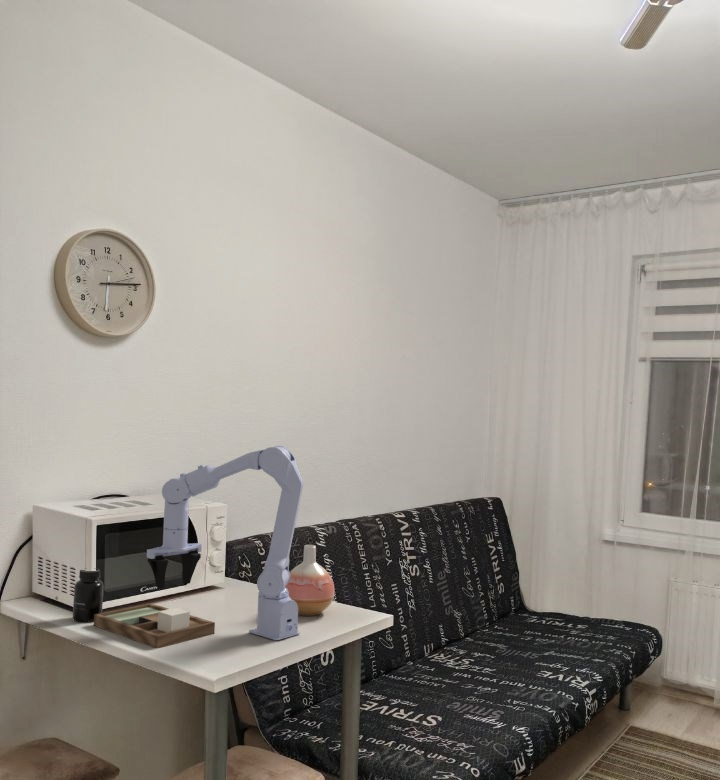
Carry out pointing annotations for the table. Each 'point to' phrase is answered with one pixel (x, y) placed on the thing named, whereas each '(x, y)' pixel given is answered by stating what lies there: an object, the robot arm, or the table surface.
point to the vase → (310, 585)
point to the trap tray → (150, 626)
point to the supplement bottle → (87, 596)
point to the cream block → (173, 619)
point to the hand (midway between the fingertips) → (173, 585)
